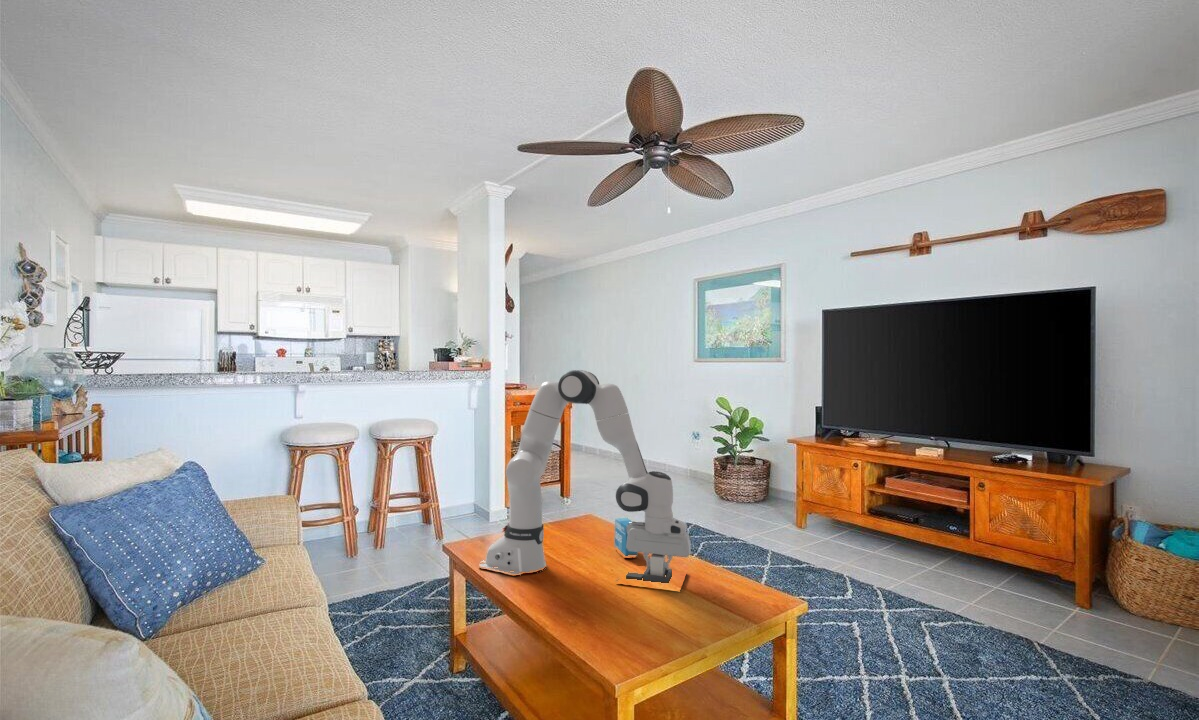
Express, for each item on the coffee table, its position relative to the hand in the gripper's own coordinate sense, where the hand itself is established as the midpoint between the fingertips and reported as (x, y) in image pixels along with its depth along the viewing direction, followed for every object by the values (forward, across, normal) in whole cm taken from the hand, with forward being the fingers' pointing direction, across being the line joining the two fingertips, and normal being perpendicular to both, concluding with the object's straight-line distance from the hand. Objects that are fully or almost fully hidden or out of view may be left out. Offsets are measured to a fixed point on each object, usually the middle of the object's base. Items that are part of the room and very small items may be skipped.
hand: (657, 567), depth 183 cm
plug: (+3, 0, 0) cm, 3 cm away
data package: (+5, -16, +23) cm, 28 cm away
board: (+5, -2, +2) cm, 5 cm away
